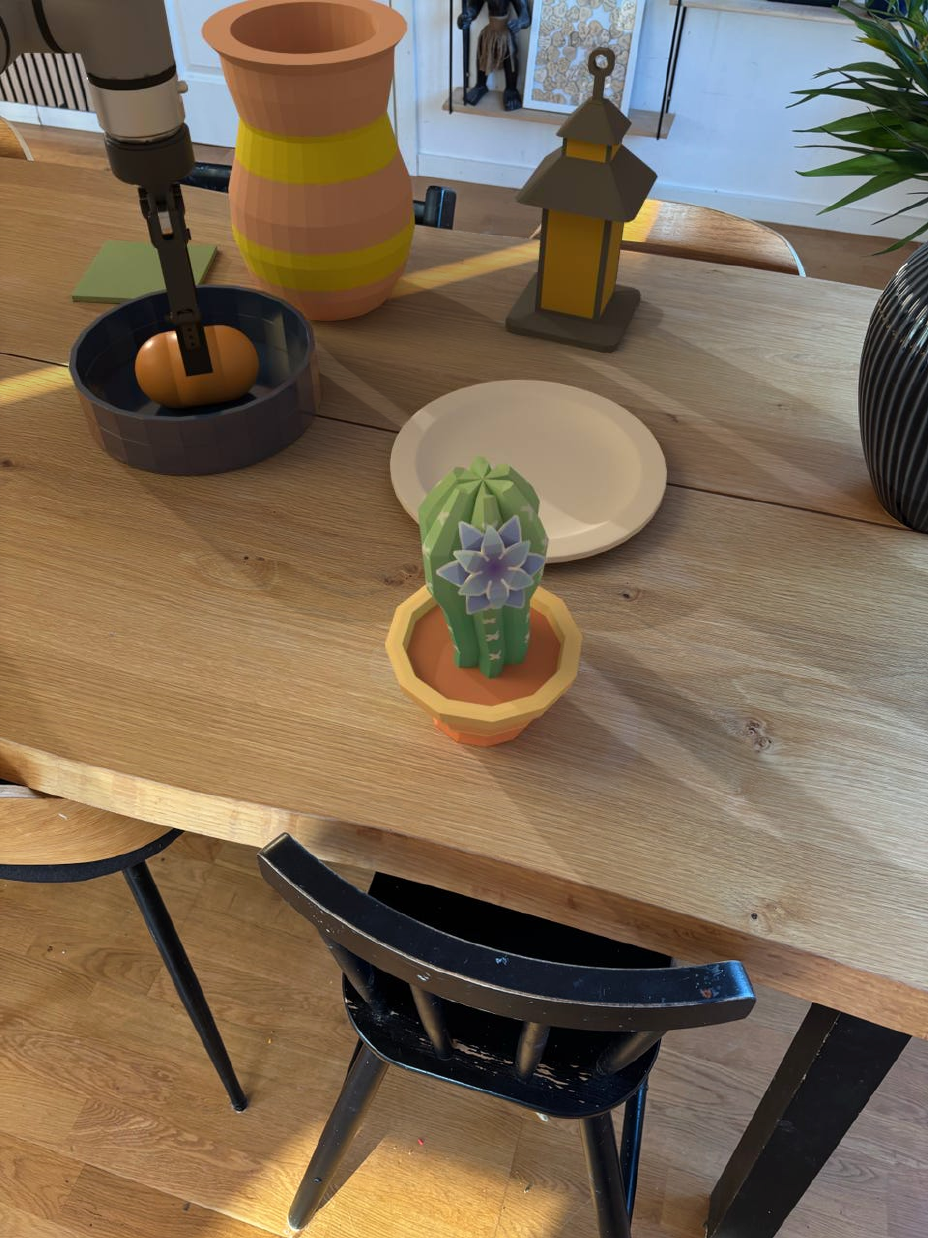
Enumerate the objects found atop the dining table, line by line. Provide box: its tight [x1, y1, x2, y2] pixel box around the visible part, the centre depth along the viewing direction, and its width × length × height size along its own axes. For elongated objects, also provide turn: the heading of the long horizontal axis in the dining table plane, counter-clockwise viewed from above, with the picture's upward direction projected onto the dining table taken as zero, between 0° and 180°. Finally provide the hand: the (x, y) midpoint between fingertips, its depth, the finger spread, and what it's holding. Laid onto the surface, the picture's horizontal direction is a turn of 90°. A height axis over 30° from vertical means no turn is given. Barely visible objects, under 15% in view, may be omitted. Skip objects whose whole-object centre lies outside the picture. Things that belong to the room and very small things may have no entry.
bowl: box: [67, 283, 322, 477], centre depth 106 cm, size 25×25×7 cm
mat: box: [70, 239, 219, 304], centre depth 126 cm, size 15×14×1 cm
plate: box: [389, 379, 668, 564], centre depth 100 cm, size 28×28×2 cm
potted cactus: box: [384, 456, 584, 748], centre depth 73 cm, size 15×15×25 cm
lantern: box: [505, 46, 659, 354], centre depth 111 cm, size 14×14×30 cm
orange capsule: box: [135, 325, 259, 409], centre depth 106 cm, size 13×8×8 cm, turn 106°
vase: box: [200, 0, 416, 322], centre depth 114 cm, size 22×22×30 cm
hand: (192, 336), depth 103 cm, fingers open, 13 cm apart
